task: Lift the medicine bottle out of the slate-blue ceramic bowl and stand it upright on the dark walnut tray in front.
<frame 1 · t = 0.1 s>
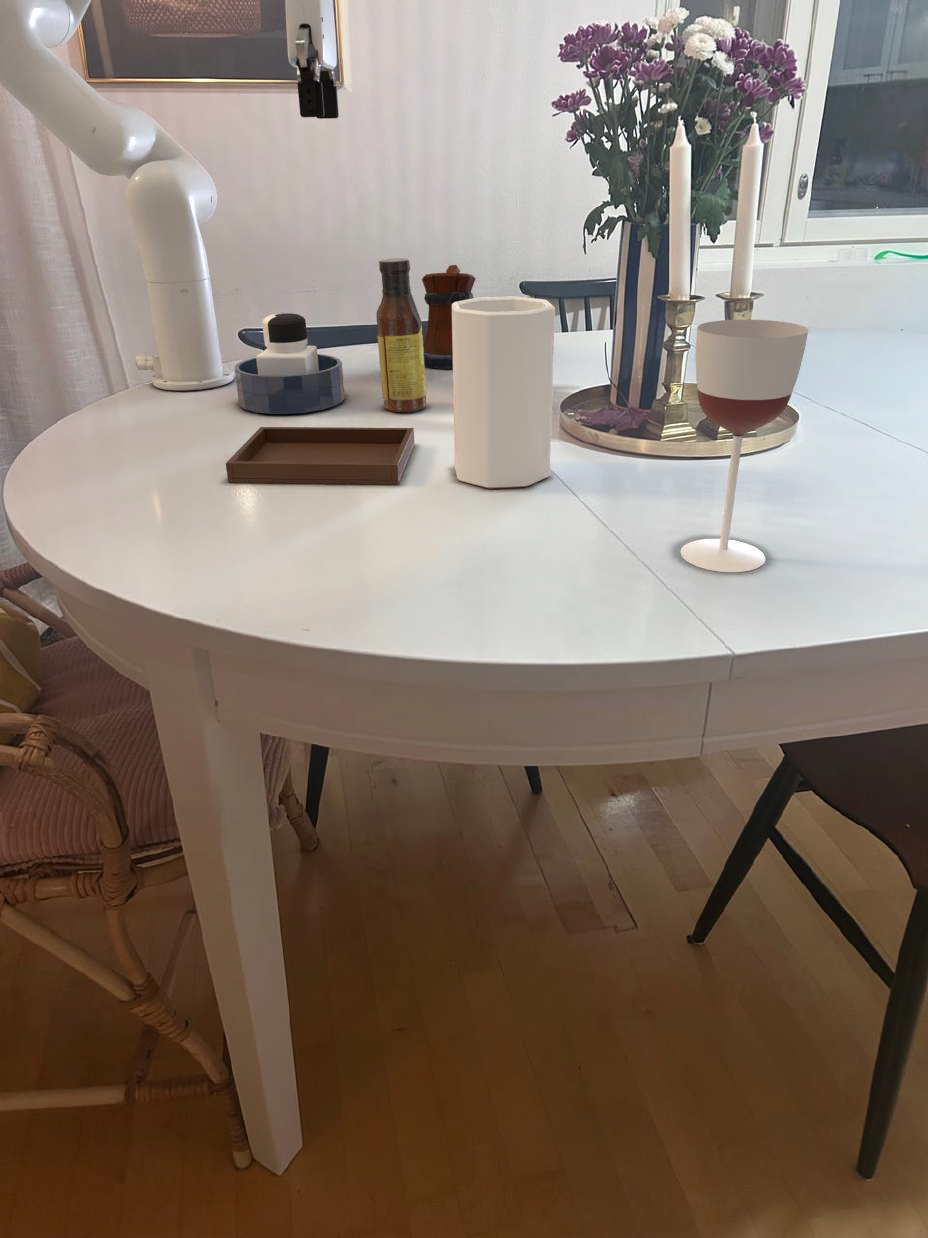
hand: (320, 117, 126), 37 cm above the table, tool pointing down, fingers open, 9 cm apart
wooden pepper grinder: (452, 359, 158), on the table
wineglass: (722, 556, 82), on the table
cup: (501, 474, 103), on the table
tray: (326, 463, 107), on the table
sauce bottle: (404, 409, 129), on the table
medicine bottle: (292, 401, 133), resting on bowl
bowl: (292, 402, 133), on the table
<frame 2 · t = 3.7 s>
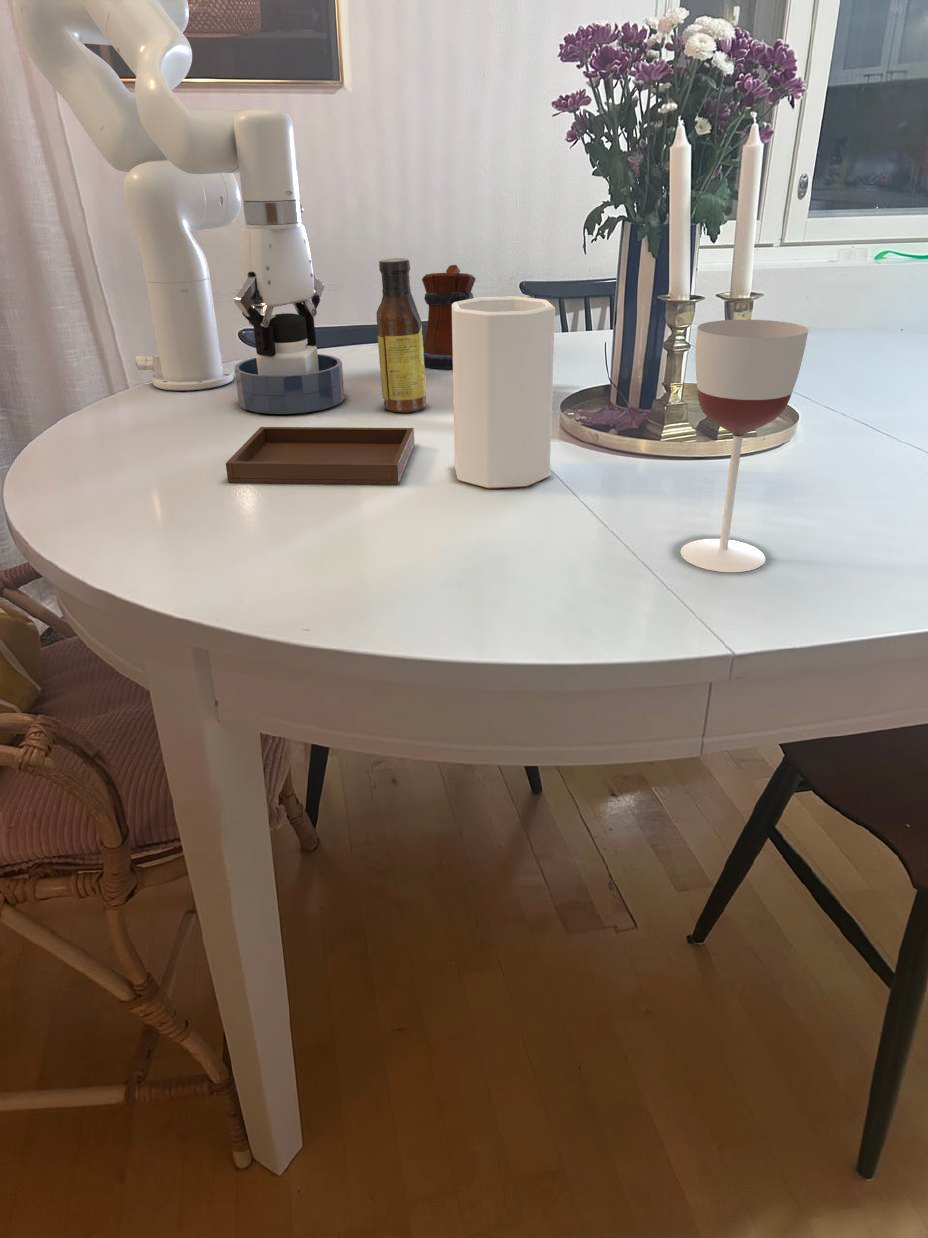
hand: (286, 349, 129), 8 cm above the table, tool pointing down, fingers closed on medicine bottle, 7 cm apart
medicine bottle: (292, 401, 133), resting on bowl, touching gripper
everything else where it was.
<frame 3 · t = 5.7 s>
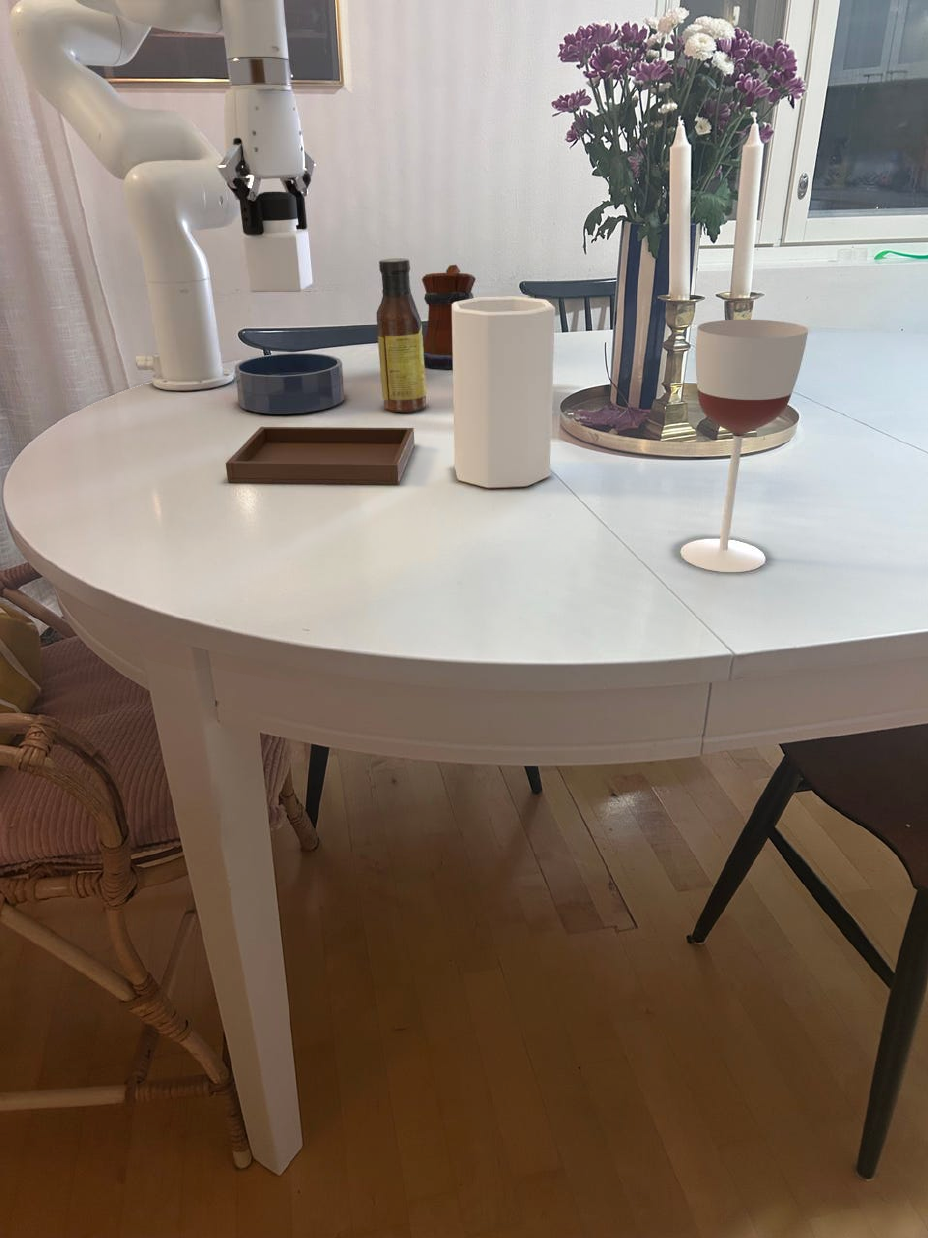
hand: (275, 230, 121), 23 cm above the table, tool pointing down, fingers closed on medicine bottle, 7 cm apart
medicine bottle: (282, 289, 124), point 16 cm above the table, touching gripper
everything else where it was.
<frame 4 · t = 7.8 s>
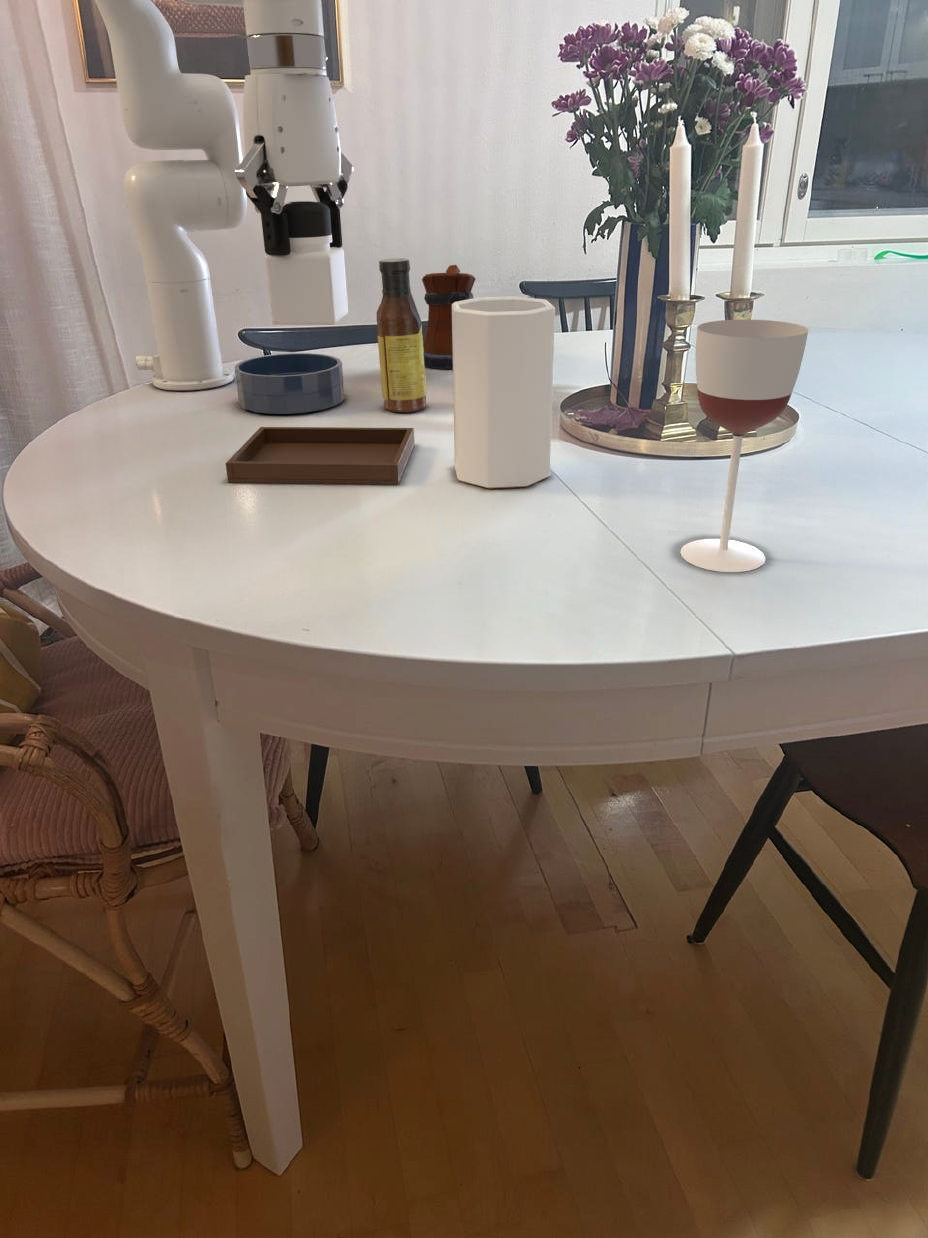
hand: (304, 249, 98), 23 cm above the table, tool pointing down, fingers closed on medicine bottle, 7 cm apart
medicine bottle: (311, 321, 102), point 16 cm above the table, touching gripper
everything else where it was.
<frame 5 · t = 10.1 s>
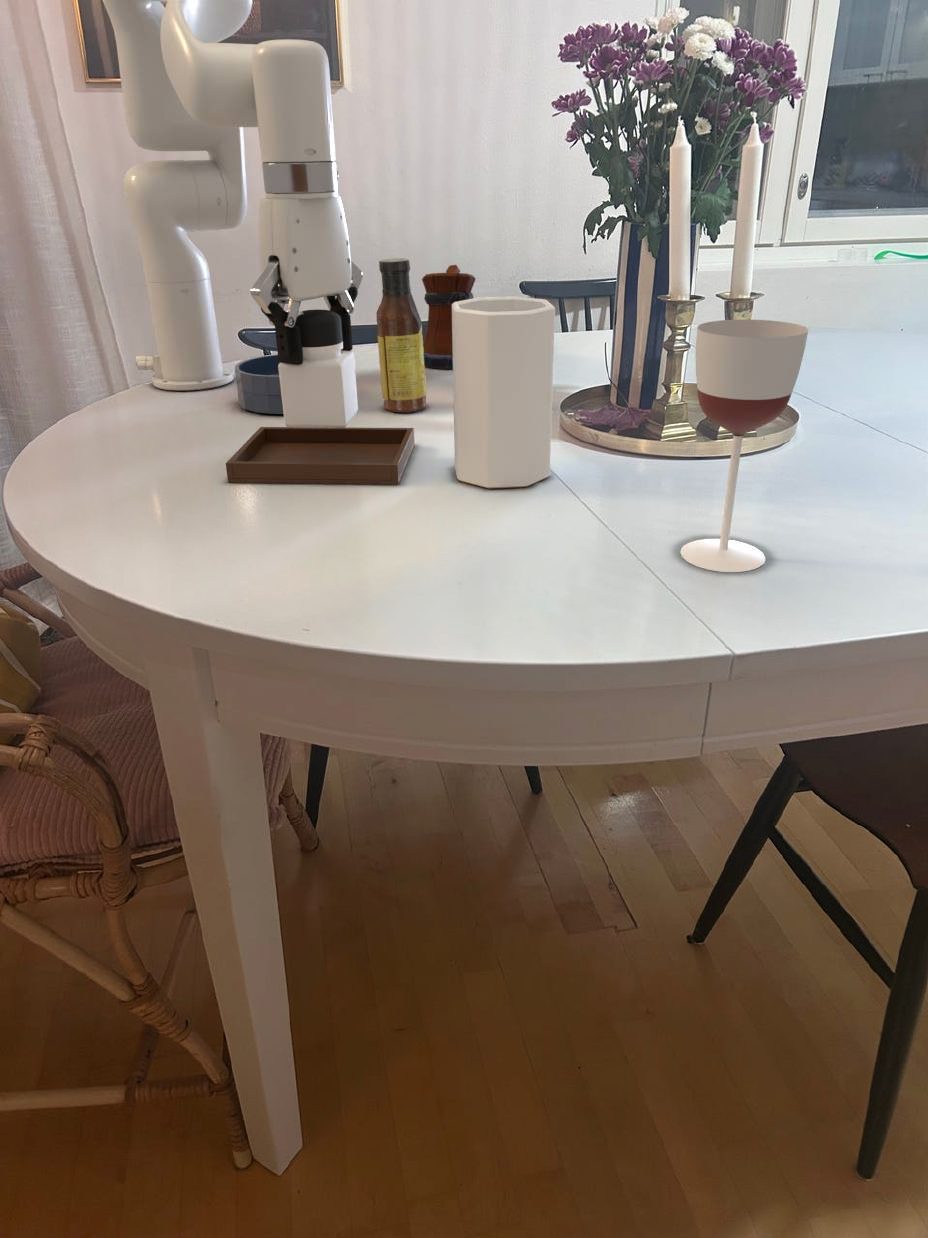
hand: (316, 355, 102), 13 cm above the table, tool pointing down, fingers closed on medicine bottle, 7 cm apart
medicine bottle: (322, 420, 105), point 5 cm above the table, touching gripper
everything else where it was.
when the fingers open (8 cm above the table, at t = 11.9 s): medicine bottle stays where it is, resting on tray.
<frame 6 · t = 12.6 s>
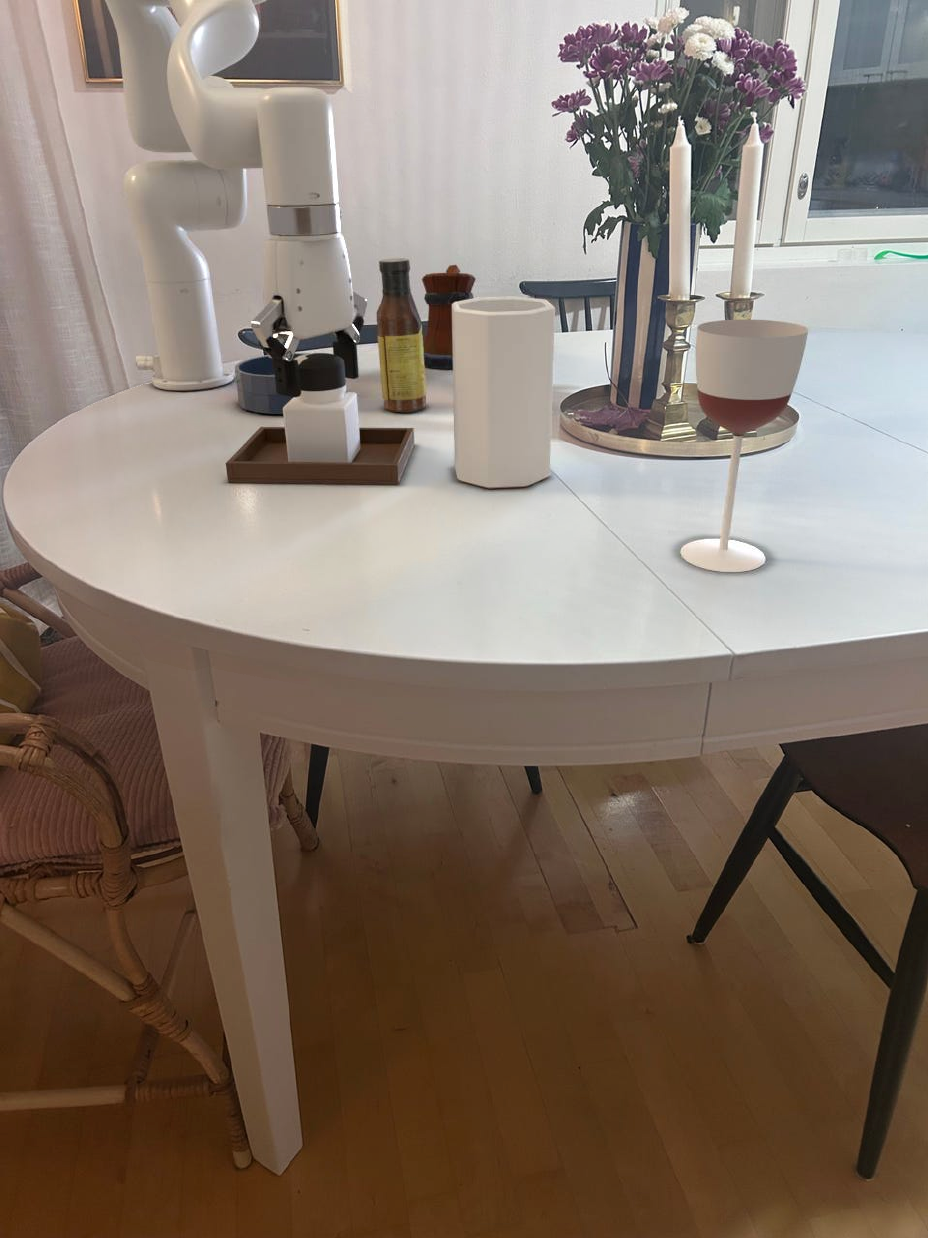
hand: (318, 385, 103), 9 cm above the table, tool pointing down, fingers open, 9 cm apart
medicine bottle: (325, 460, 107), resting on tray
everything else where it was.
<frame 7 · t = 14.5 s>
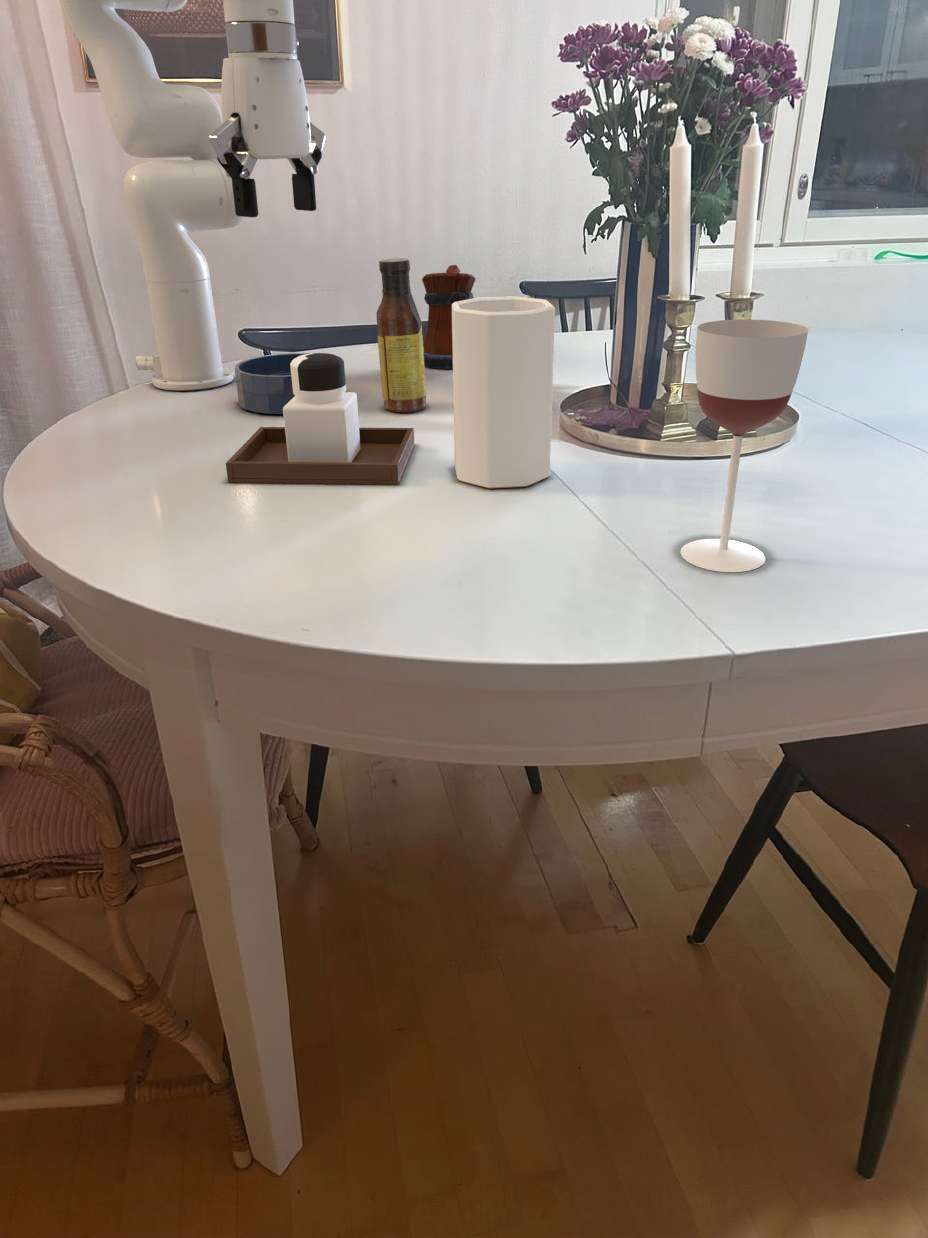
hand: (277, 213, 108), 26 cm above the table, tool pointing down, fingers open, 9 cm apart
nothing on the table moved.
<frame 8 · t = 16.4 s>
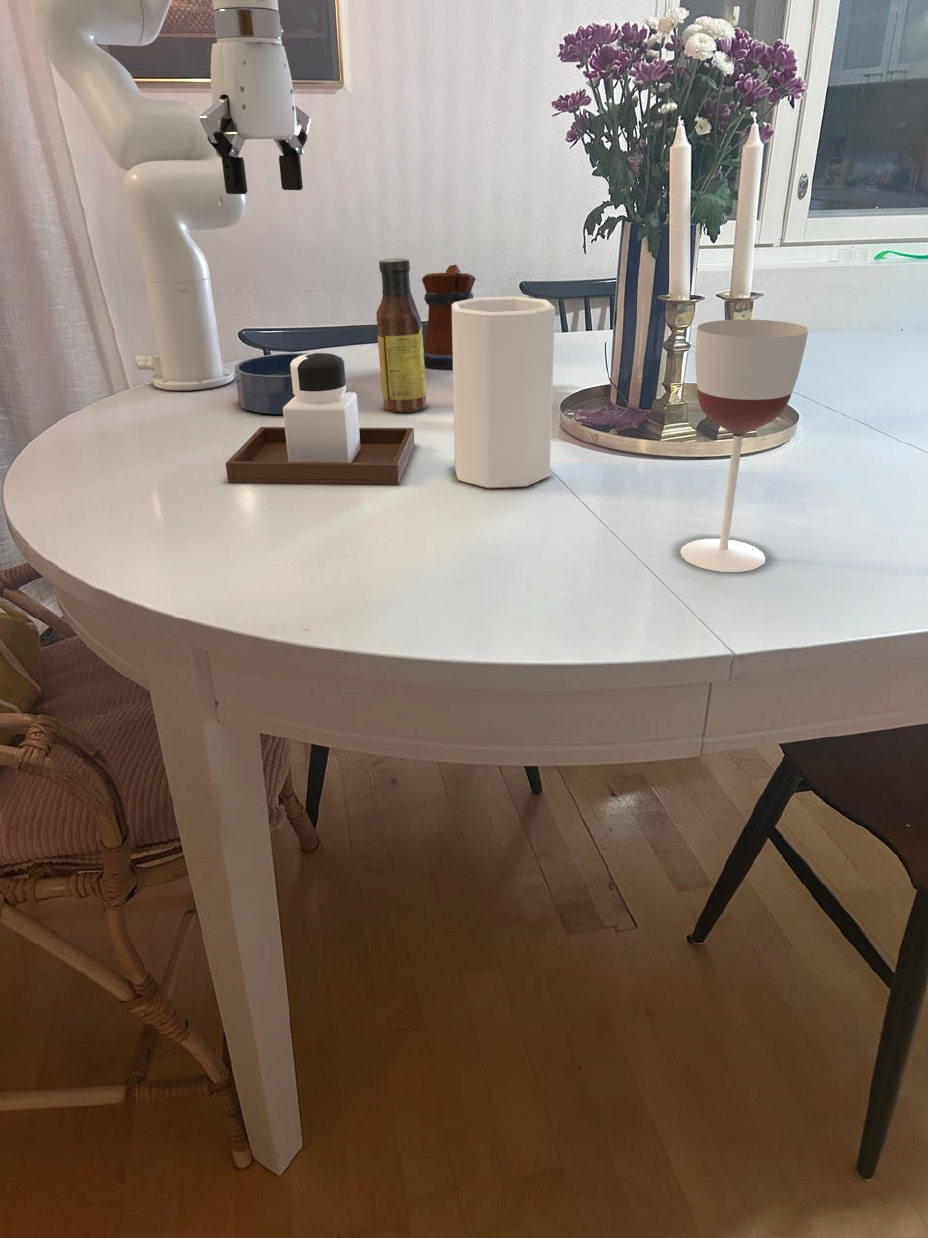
hand: (265, 191, 114), 28 cm above the table, tool pointing down, fingers open, 9 cm apart
nothing on the table moved.
at the end: medicine bottle inside the target area in the tray (0.1 cm from its centre), point 0.3 cm above the tray's base; medicine bottle tilted 0°; the gripper is holding nothing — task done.
